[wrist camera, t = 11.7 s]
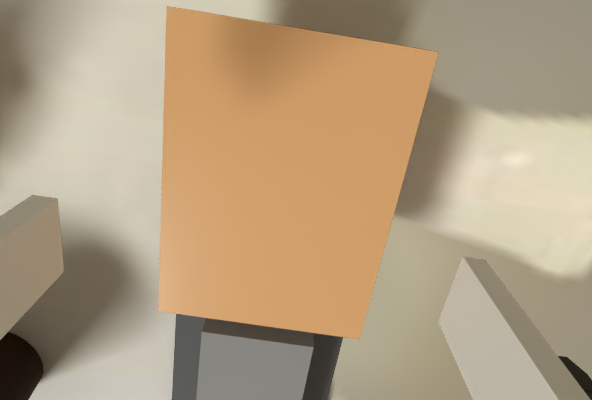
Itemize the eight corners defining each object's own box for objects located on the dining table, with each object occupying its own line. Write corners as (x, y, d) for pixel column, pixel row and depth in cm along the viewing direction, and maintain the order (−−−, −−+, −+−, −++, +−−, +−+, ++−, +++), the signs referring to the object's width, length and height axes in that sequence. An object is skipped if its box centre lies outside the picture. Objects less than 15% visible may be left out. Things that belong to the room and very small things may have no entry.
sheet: (175, 7, 17) (166, 6, 16) (430, 50, 18) (438, 51, 17) (165, 297, 23) (158, 311, 22) (357, 324, 24) (359, 339, 22)
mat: (183, 225, 27) (163, 256, 23) (362, 251, 27) (371, 286, 24) (171, 449, 36) (155, 498, 32) (308, 466, 36) (308, 517, 32)
